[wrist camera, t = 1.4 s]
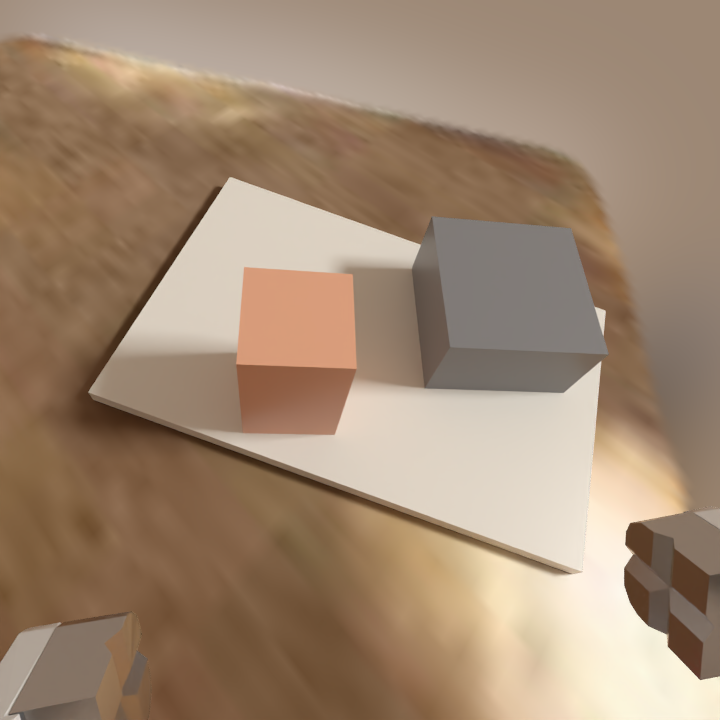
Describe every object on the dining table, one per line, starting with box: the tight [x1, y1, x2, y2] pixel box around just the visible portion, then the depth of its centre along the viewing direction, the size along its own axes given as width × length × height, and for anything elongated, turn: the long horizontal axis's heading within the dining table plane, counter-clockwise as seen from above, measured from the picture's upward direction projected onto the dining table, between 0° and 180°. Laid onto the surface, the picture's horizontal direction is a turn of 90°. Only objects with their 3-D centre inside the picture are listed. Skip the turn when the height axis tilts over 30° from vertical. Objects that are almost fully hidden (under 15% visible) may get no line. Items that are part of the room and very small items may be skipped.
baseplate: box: [88, 177, 606, 574], centre depth 33 cm, size 28×18×1 cm, turn 73°
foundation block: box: [412, 217, 609, 393], centre depth 32 cm, size 9×9×5 cm
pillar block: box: [236, 267, 357, 435], centre depth 27 cm, size 5×5×8 cm
